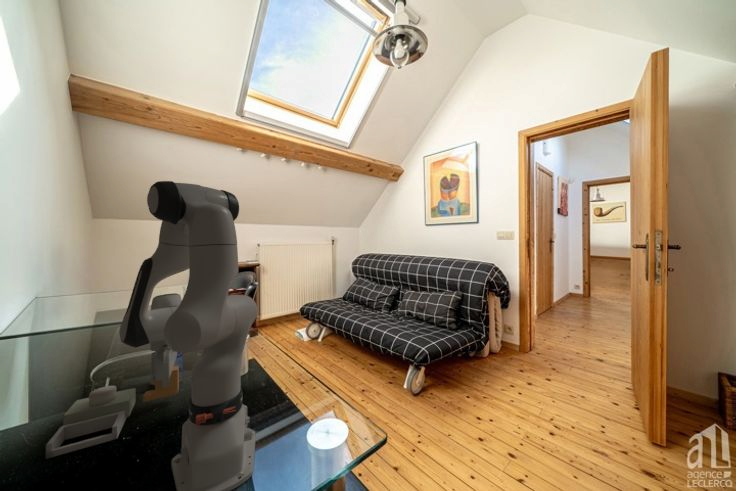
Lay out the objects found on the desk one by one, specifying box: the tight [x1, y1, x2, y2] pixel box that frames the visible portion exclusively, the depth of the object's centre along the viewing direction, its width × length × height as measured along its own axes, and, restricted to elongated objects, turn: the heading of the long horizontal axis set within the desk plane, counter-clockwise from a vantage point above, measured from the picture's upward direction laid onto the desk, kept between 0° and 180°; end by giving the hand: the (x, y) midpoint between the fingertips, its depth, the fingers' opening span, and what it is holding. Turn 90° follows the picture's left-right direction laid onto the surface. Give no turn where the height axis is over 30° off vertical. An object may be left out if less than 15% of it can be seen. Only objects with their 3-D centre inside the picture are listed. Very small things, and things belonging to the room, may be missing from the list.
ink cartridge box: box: [149, 351, 184, 386], centre depth 102 cm, size 10×6×14 cm, turn 78°
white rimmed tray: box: [45, 385, 137, 460], centre depth 77 cm, size 20×14×8 cm
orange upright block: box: [142, 365, 180, 403], centre depth 88 cm, size 4×9×8 cm, turn 121°
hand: (167, 382), depth 89 cm, fingers closed on orange upright block, 4 cm apart
